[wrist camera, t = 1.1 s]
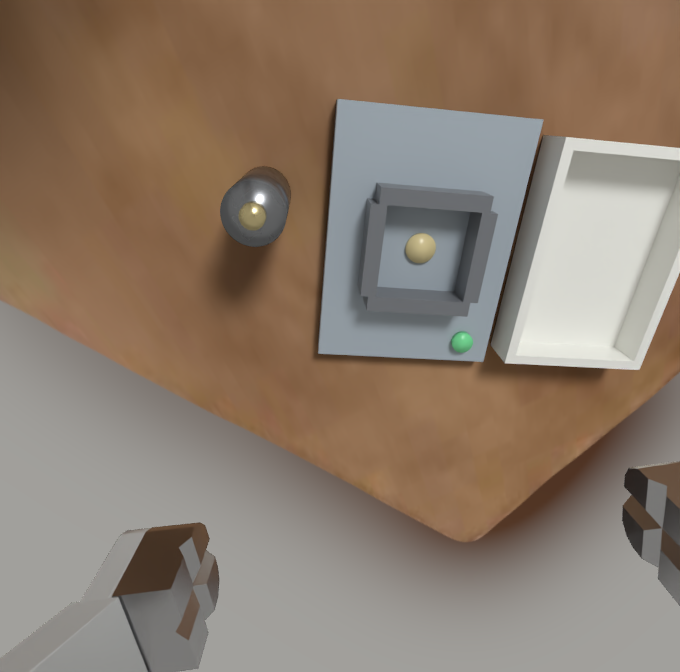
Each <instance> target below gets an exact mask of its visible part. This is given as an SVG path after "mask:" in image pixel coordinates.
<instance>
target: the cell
mask: <svg viewBox="0 0 680 672" xmlns="http://www.w3.org/2000/svg"><path fill="white" fill-rule="evenodd" d="M290 200H291V190H290V186H289V183H288V181H287V179H286V178H285V177H284V176H283V175H282V173H280V172H279V171H277V170H276V169H274V168H271V167H264V166H262V167H257V168H254V169H252V170H250V171H249V172H248V173H246V174H245V175H244V176H243V177H242V178H241V179H240V180H239V181H238V182H237V183H236V184H234V185H233V186H232V187H231V188H230V189H229V190H228V191H227V193H226V194H225V195H224V198H223V200H222V203H221V208H220V214H221V220H222V223H223V226H224V228H225V229H226V231H227V232H228V234H229V235H230V236H231V237H232V238H233V239H235V240H236V241H238V242H239V243H241V244H244V245H247V246H252V247H259V246H264V245H267V244H269V243H271V242H273V241H274V240H275V239H277V238H278V237H279V235H280V234H281V233H282V231H283V229H284V226H285V223H286V218H287V213H288V209H289V204H290Z"/></svg>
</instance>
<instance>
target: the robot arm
mask: <svg viewBox="0 0 680 672" xmlns="http://www.w3.org/2000/svg"><path fill="white" fill-rule="evenodd" d="M624 487H625V488H626V489H627V490H628V491H629V493H630V494H631V496H630V498H629V499H628V500H627V501H626V502H625V504H624V505H623V513H622V516H623V517H622V521H623V525H624V528H625V532H626V535H627V537H628V539H629V541H630V543H631V545H632V547H633V548H634V549H635V551H636V552H637V553H638V555H639V556H640V557H641V558H642V559H643V560H645V561H647V562H649V563H651V564H653V565H655V566H657V567H658V580H659V581H660V582H661V583H662V584H663V586H664V587H665V588H666V590H667V591H668V592H669V593H670V594H671V596H672V597H673V598H674V599H675V601H676V602H677V603H678V604H679V605H680V461H677V462H670V463H662V464H655V465H648V466H640V467H632V468H628V470H627V472H626V474H625V480H624ZM208 542H209V536H208V533H207V530H206V527H205V525H204V524H202V523H191V524H182V525H172V526H163V527H153V528H147V529H138V530H128V531H126V532H124V533H123V534H121V535H120V536H119V538H118V539H117V541H116V543H115V544H114V546H113V548H112V549H111V551H110V553H109V554H108V556H107V558H106V559H105V561H104V563H103V564H102V566H101V567H100V569H99V571H98V572H97V574H96V576H95V577H94V579H93V581H92V582H91V584H90V586H89V587H88V589H87V591H86V593H85V594H84V596H83V597H82V599H81V601H80V602H74V603H71V604H69V605H68V606H67V607H66V608H64V609H63V610H62V611H60V612H59V613H58V614H57V615H55V616H54V617H53V618H51V619H50V620H49V621H48V622H47V623H45V624H44V625H42V627H40V628H39V629H37V630H36V631H35V632H33V633H32V634H31V635H30V636H28V637H27V638H26V639H24V640H23V641H22V642H21V643H19V644H18V645H17V646H15V647H14V648H13V649H12V650H10V651H9V652H8V653H6V654H5V655H4V656H3V657H1V658H0V672H178V671H185V670H192V669H198V668H199V664H200V661H201V657H202V654H203V650H204V646H205V643H206V639H207V636H208V629H207V626H206V623H205V620H206V619H207V618H208V617H209V616H210V614H211V613H212V612H213V611H214V610H215V606H216V603H217V599H218V590H219V572H218V566H217V562H216V559H215V556H213V555H212V554H211V553H209V552H208V551H207V550H206V548H207V545H208Z"/></svg>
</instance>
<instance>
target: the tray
mask: <svg viewBox="0 0 680 672" xmlns="http://www.w3.org/2000/svg"><path fill="white" fill-rule="evenodd" d="M679 273H680V148H673V147H663V146H652V145H642V144H632V143H622V142H611V141H601V140H591V139H581V138H571V137H559V136H547V135H543V139H542V143H541V147H540V151H539V155H538V159H537V162H536V166H535V170H534V174H533V178H532V182H531V186H530V190H529V194H528V198H527V202H526V206H525V210H524V214H523V218H522V222H521V226H520V230H519V234H518V238H517V242H516V246H515V250H514V254H513V258H512V262H511V266H510V270H509V274H508V278H507V282H506V285H505V289H504V293H503V297H502V301H501V305H500V309H499V313H498V317H497V321H496V325H495V329H494V333H493V337H492V341H491V346H492V348H493V349H494V350H495V351H496V353H497V354H498V355H499V357H500V358H501V359H502V360H503V362H504V363H510V364H530V365H550V366H570V367H591V368H611V369H631V370H639V369H640V367H641V364H642V362H643V360H644V357H645V355H646V352H647V350H648V347H649V345H650V343H651V340H652V338H653V335H654V333H655V331H656V328H657V326H658V323H659V321H660V319H661V316H662V314H663V311H664V309H665V307H666V304H667V302H668V299H669V297H670V294H671V292H672V290H673V287H674V285H675V282H676V280H677V278H678V275H679Z"/></svg>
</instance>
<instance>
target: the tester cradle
mask: <svg viewBox="0 0 680 672" xmlns="http://www.w3.org/2000/svg"><path fill="white" fill-rule="evenodd" d="M542 124H543V120H541V119H531V118H521V117H511V116H502V115H492V114H482V113H472V112H462V111H452V110H442V109H432V108H422V107H412V106H402V105H392V104H383V103H373V102H363V101H353V100H343V99H337V101H336V115H335V128H334V141H333V154H332V168H331V181H330V194H329V208H328V221H327V234H326V247H325V261H324V274H323V287H322V300H321V314H320V327H319V340H318V354H337V355H357V356H377V357H397V358H417V359H437V360H458V361H478V362H483V361H484V357H485V353H486V349H487V345H488V341H489V337H490V333H491V329H492V324H493V320H494V316H495V312H496V308H497V304H498V300H499V296H500V292H501V288H502V284H503V280H504V276H505V272H506V268H507V264H508V260H509V256H510V252H511V248H512V244H513V240H514V236H515V232H516V228H517V224H518V220H519V216H520V212H521V208H522V204H523V200H524V196H525V192H526V188H527V184H528V180H529V176H530V172H531V168H532V164H533V160H534V156H535V152H536V148H537V144H538V140H539V136H540V132H541V128H542Z"/></svg>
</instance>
